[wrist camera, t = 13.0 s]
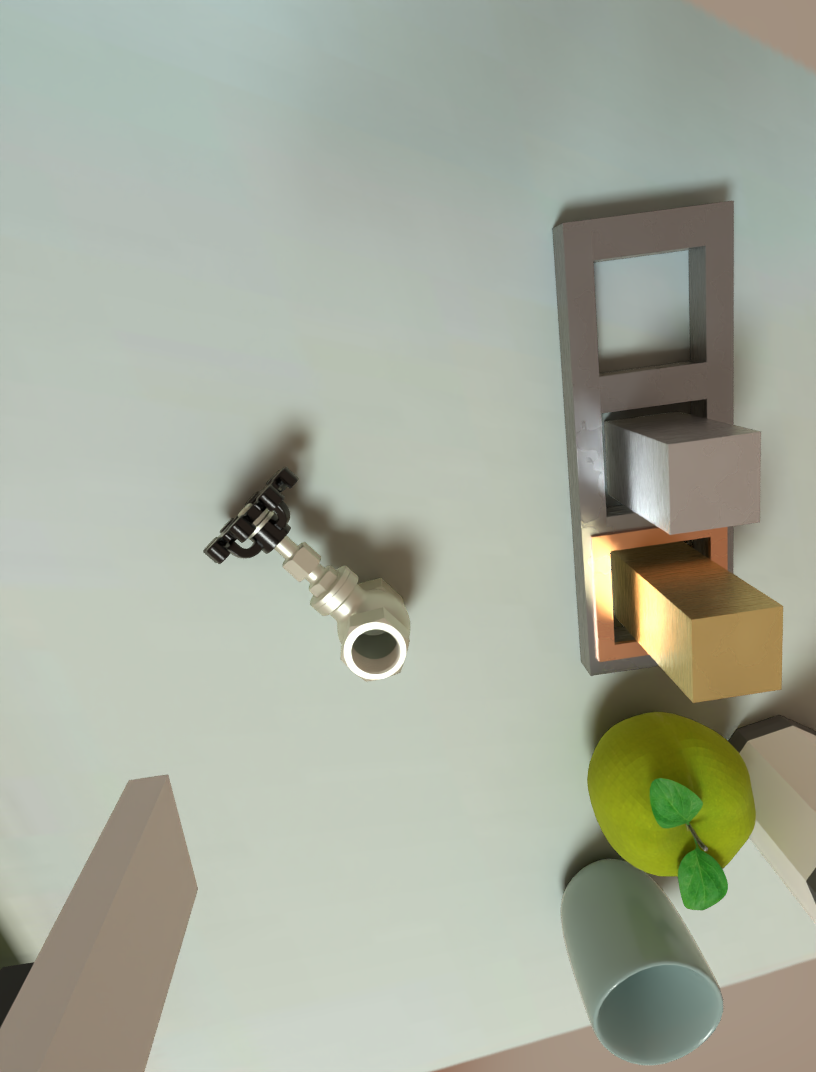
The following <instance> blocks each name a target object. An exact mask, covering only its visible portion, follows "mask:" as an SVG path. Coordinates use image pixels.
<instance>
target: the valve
mask: <svg viewBox="0 0 816 1072" xmlns="http://www.w3.org/2000/svg"><path fill="white" fill-rule="evenodd" d="M297 481H298V477H297V476H296V475H295V474H293V473H292V472H291V471H290V470H289V469H288V468H287V467H284V468H282V469H281V470H280V471H277V472H276V473H275V474H274V475H273V476H272V477H271V478H270V479H269V480H268V482H267V483H266V486H265V487H264V489H263V490H262V491H261V492H258V491H257V492H256V493H255V494H254V495H253V496H252V497H251V498H250V499H249V500H248V501H247V502H246V503H245V507H244V508H243V510H242V511H241V512H240V513H239V514H238V515H237V516H236V517H235V518H231V519H230V520H229V521H228V522H227V523H226V524H225V525H224V527H223V528H222V529H221V530H220V533H221V534H220V536H219V537H215V538H214V539H213V540H212V541H211V542H210V543H209V544H208V545H207V547H206V548H205V549H204V550H203V552H204V553H205V554H206V555H207V556H208V557H209V558H211V559H212V560H213V561H214V562H215V563H218V564H221V563H222V562H223V561H224V560H225V559H226V558H227V557H228V556H229V555H230V553H231V554H232V555H234V556H236V557H238V558H250V557H253V556H255V555H257V554H258V553H259V552H260V551H261V550H262V551H263V552H265V553H266V554H268V553H269V552H271V551H272V550H273V549H275V550H276V551H277V552H278V553H279V554H280V555H282V556H283V557H284V558H285V561H284V562H283V568H284V569H285V570H286V571H288V572H289V573H290V574H291V575H292V576H293V577H294V578H295V579H297V580H298V581H299V582H301V581H302V580H303V579H306V580H307V581H308V582H310V586H309V591H310V592H311V593H312V594H313V597H312V599H311V601H310V605H311V606H312V607H313V608H314V609H315V610H316V611H318V612H319V613H320V614H321V615H322V616H327V615H329V614H330V615H331V616H332V617H333V618H334V619H336V621H337V630H338V636H339V640H340V642H341V644H342V646H341V660H342V661H343V662H344V663H345V664H346V665H347V666H348V667H349V668H350V669H351V670H352V671H353V672H354V673H355V674H357V675H358V676H359V677H360V678H362V679H363V680H365V681H366V682H367V681H373V680H378V679H382V678H386V677H389V676H392V675H395V674H398V673H400V672H401V669H402V666H403V663H404V660H405V657H406V653H407V649H408V646H409V642H410V640H409V635H410V619H409V615H408V612H407V610H406V608H405V606H404V603H403V598H402V597H401V596H400V595H399V594H398V593H397V592H396V591H395V590H394V589H393V588H391V587H390V586H389V585H388V584H387V583H386V582H385V581H384V580H383V579H382V578H378V579H374V580H370V581H366V582H363V583H359V584H357V582H358V576H357V575H356V574H355V573H353V572H352V571H351V570H350V569H349V568H348V567H347V566H342V567H340V568H338V569H337V570H335V569H334V568H333V567H332V566H331V565H330V566H327V567H326V568H324V567H323V566H322V565H321V564H320V560H321V556H320V555H319V554H318V553H317V552H316V551H314V550H313V549H312V548H311V547H310V546H309V545H308V544H307V543H306V542H303V543H301V544H299V545H298V546H297V545H296V544H295V543H294V542H293V541H292V540H291V539H290V538H289V537H288V536H286V535H287V534H288V533H289V531H290V529H291V527H290V526H289V525H288V524H287V523H288V522H289V520H290V512H289V509H288V507H287V505H286V504H285V503H284V502H283V499H284V498H285V497H284V495H282V494H281V493H280V492H282V491H284V490H285V489H286V488H287V487H289V488H292V487H293V485H294V484H295V483H296V482H297ZM268 510H269V511H268ZM273 510H274V511H275V512H276V513H277V514H276V513H275V512H274V511H273ZM248 538H249V539H250V540H251V541H252V542H253V544H252V546H251V547H250V548H248V549H244V548H242V547H240V546H239V545H238V544H237V543H236V542H235V540H237V539H238V540H239V541H240V542H241V543H243V542H244V541H246V540H247V539H248Z"/></svg>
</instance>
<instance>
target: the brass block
mask: <svg viewBox="0 0 816 1072" xmlns="http://www.w3.org/2000/svg"><path fill="white" fill-rule="evenodd" d="M611 555H612V574H613V593H614V611H615V617H616V618H617V619H618V620H619V621H620V623H621V624H622V625H623V626H624V627H625V628H626V629H627V630H628V631H629V633H630V634H631V635H632V636H633V637H634V638H635V639H636V640H637V641H638V643H639V644H640V645H641V646H642V647H643V648H644V649H645V650H646V651H647V652H648V654H649V655H650V656H651V657H652V658H653V659H654V660H655V661H656V662H657V664H658V665H659V666H660V667H661V668H662V669H663V670H664V671H665V672H666V674H667V675H668V676H669V677H670V678H671V679H672V680H673V681H674V682H675V684H676V685H677V686H678V687H679V688H680V689H681V690H682V691H683V692H684V694H685V695H686V696H687V697H688V698H689V699H690V700H691V701H692V702H693V703H696V702H703V701H709V700H716V699H722V698H729V697H735V696H742V695H748V694H755V693H762V692H768V691H775V690H781V686H782V635H783V606H782V605H781V604H779V603H777V602H776V601H774V600H773V599H771V598H770V597H768V596H767V595H765V594H763V593H762V592H760V591H759V590H757V589H756V588H754V587H753V586H751V585H749V584H748V583H746V582H745V581H743V580H742V579H740V578H739V577H737V576H735V575H734V574H732V573H731V572H729V571H728V570H726V569H725V568H723V567H722V566H720V565H718V564H717V563H715V562H714V561H712V560H711V559H709V558H708V557H706V556H704V555H703V554H701V553H700V552H698V551H697V550H695V549H694V548H692V547H690V546H689V545H687V544H686V543H684V542H683V541H679V542H672V543H665V544H658V545H651V546H644V547H637V548H630V549H623V550H616V551H611Z"/></svg>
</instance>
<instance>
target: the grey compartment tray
mask: <svg viewBox="0 0 816 1072" xmlns="http://www.w3.org/2000/svg"><path fill="white" fill-rule="evenodd" d="M552 230H553V245H554V260H555V275H556V291H557V306H558V321H559V336H560V351H561V366H562V381H563V397H564V412H565V427H566V442H567V457H568V472H569V488H570V503H571V518H572V533H573V548H574V563H575V579H576V594H577V609H578V624H579V639H580V654H581V662H582V664H583V665H584V667H585V668H586V670H587V671H588V673H589V674H590V676H593V675H599V674H606V673H613V672H620V671H626V670H633V669H640V668H647V667H653V666H659V665H658V664H657V662H656V661H655V660H654V659H653V658H652V657H651V656H650V655H649V654H648V652H647V651H646V650H645V649H644V648H643V647H642V646H641V645H640V644H639V643H638V641H637V640H636V639H635V638H634V637H633V636H632V635H631V634H630V633H629V631H628V630H627V629H626V628H625V627H617V628H614V622H613V602H612V582H611V562H610V551H616V550H623V549H630V548H637V547H644V546H651V545H658V544H665V543H672V542H679V541H686V540H692V539H693V548H694V549H695V550H697V551H698V552H700V553H701V554H703V555H704V556H706V557H708V558H709V559H711V560H712V561H714V562H715V563H717V564H718V565H720V566H722V567H723V568H725V569H726V570H728V571H729V572H731V573H732V574H733V526H729V527H722V528H715V529H708V530H701V531H694V532H687V533H680V534H673V535H670V534H668V533H667V532H665V531H664V530H662V529H660V528H659V527H657V526H656V525H654V524H653V523H651V522H650V521H648V520H647V519H645V518H643V517H642V516H640V515H639V514H637V513H636V512H634V511H633V510H631V509H630V508H628V507H627V506H625V505H620V506H613V507H606V497H605V478H604V458H603V439H602V419H601V413H608V412H616V411H623V410H630V409H637V408H644V407H652V406H659V405H666V404H673V403H680V402H688V401H691V415H695V416H699V417H703V418H707V419H711V420H715V421H719V422H723V423H727V424H731V425H733V266H734V201H727V202H719V203H712V204H704V205H696V206H689V207H681V208H674V209H666V210H658V211H651V212H643V213H636V214H628V215H620V216H613V217H605V218H598V219H590V220H582V221H575V222H567V223H562V224H560V225H558V226H556V227H555V228H553V229H552ZM684 250H689V305H690V361H685V362H678V363H671V364H664V365H656V366H649V367H642V368H635V369H627V370H620V371H613V372H605V373H599V361H598V342H597V322H596V303H595V283H594V264H593V263H594V262H602V261H609V260H617V259H624V258H632V257H639V256H647V255H654V254H662V253H669V252H677V251H684Z"/></svg>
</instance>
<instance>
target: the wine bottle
mask: <svg viewBox="0 0 816 1072" xmlns="http://www.w3.org/2000/svg"><path fill="white" fill-rule="evenodd" d="M729 743H730V744H731V745H732V746H733V747H734V748H735V749H736V750H737V751H738V752H739V754H740V755H741V757H742V758H743V760H744V762H745V764H746V766H747V769H748V772H749V775H750V781H751V788H752V792H753V797H754V803H755V810H756V821H755V826H754V829H753V831H752V833H751V835H750V837H749V838H750V840H751V841H752V842H753V844H754V845H755V846H756V847H757V849H758V850H759V851H760V853H761V854H762V855H763V857H764V858H765V859H766V860H767V862H768V863H769V864H770V866H771V867H772V868H773V870H774V871H775V872H776V873H777V875H778V876H779V877H780V879H781V880H782V881H783V882H784V884H785V885H786V886H787V888H788V889H789V890H790V892H791V893H792V894H793V895H794V897H795V898H796V899H797V901H798V902H799V903H800V905H801V906H802V907H803V908H804V910H805V911H806V912H807V914H808V915H809V916H810V918H811V919H812V920H813V921H814V923H815V924H816V731H814V730H812V729H810V728H807V727H805V726H803V725H801V724H798V723H796V722H794V721H792V720H789V719H787V718H785V717H783V716H780V715H778V716H775V717H772V718H769V719H766V720H763V721H760V722H757V723H754V724H751V725H748V726H745V727H742V728H739V729H737V730H736V731H735V733H734V734H733V736H732V737H731V739H730V740H729Z"/></svg>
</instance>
